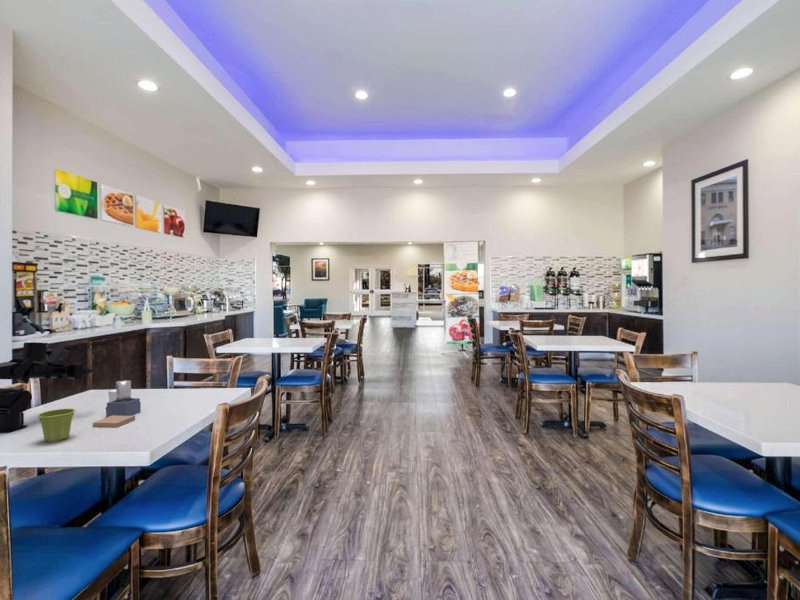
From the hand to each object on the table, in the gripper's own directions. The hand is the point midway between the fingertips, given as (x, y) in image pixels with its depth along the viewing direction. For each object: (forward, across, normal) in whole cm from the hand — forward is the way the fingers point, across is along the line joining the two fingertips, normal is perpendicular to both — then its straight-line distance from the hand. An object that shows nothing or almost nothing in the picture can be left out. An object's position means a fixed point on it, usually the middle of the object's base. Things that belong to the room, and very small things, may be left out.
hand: (83, 370), depth 166 cm
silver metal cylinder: (+2, -22, +12) cm, 25 cm away
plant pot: (-25, -26, +21) cm, 42 cm away
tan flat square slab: (-8, -29, +18) cm, 35 cm away
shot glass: (+11, -8, +15) cm, 20 cm away
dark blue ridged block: (+2, -22, +16) cm, 27 cm away
